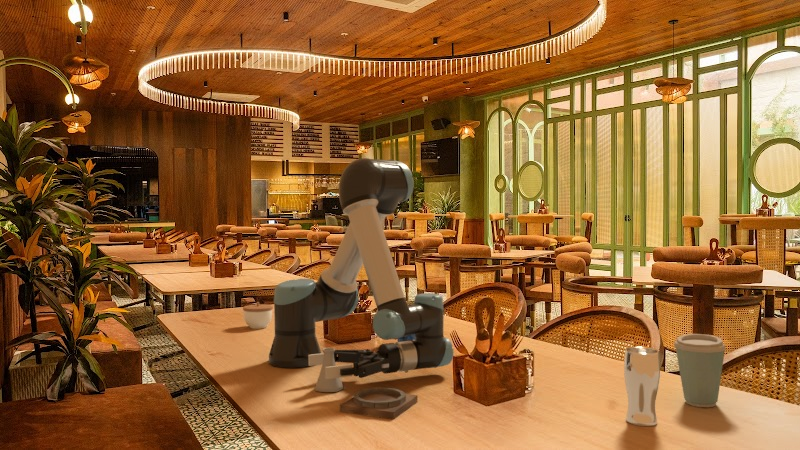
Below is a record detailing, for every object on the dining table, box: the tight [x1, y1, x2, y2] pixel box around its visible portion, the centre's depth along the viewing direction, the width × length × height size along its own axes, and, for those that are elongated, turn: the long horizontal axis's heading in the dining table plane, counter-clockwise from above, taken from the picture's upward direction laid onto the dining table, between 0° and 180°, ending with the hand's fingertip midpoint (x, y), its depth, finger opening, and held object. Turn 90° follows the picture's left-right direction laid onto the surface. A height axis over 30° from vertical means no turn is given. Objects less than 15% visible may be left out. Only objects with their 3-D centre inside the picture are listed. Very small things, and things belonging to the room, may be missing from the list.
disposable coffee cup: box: [673, 333, 727, 408], centre depth 147 cm, size 11×11×15 cm
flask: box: [314, 347, 344, 393], centre depth 160 cm, size 7×7×10 cm
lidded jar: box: [242, 301, 274, 330], centre depth 240 cm, size 11×11×9 cm
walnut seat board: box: [339, 386, 418, 420], centre depth 146 cm, size 13×13×3 cm
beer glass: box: [623, 346, 661, 427], centre depth 135 cm, size 7×7×15 cm
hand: (316, 366), depth 159 cm, fingers open, 13 cm apart
